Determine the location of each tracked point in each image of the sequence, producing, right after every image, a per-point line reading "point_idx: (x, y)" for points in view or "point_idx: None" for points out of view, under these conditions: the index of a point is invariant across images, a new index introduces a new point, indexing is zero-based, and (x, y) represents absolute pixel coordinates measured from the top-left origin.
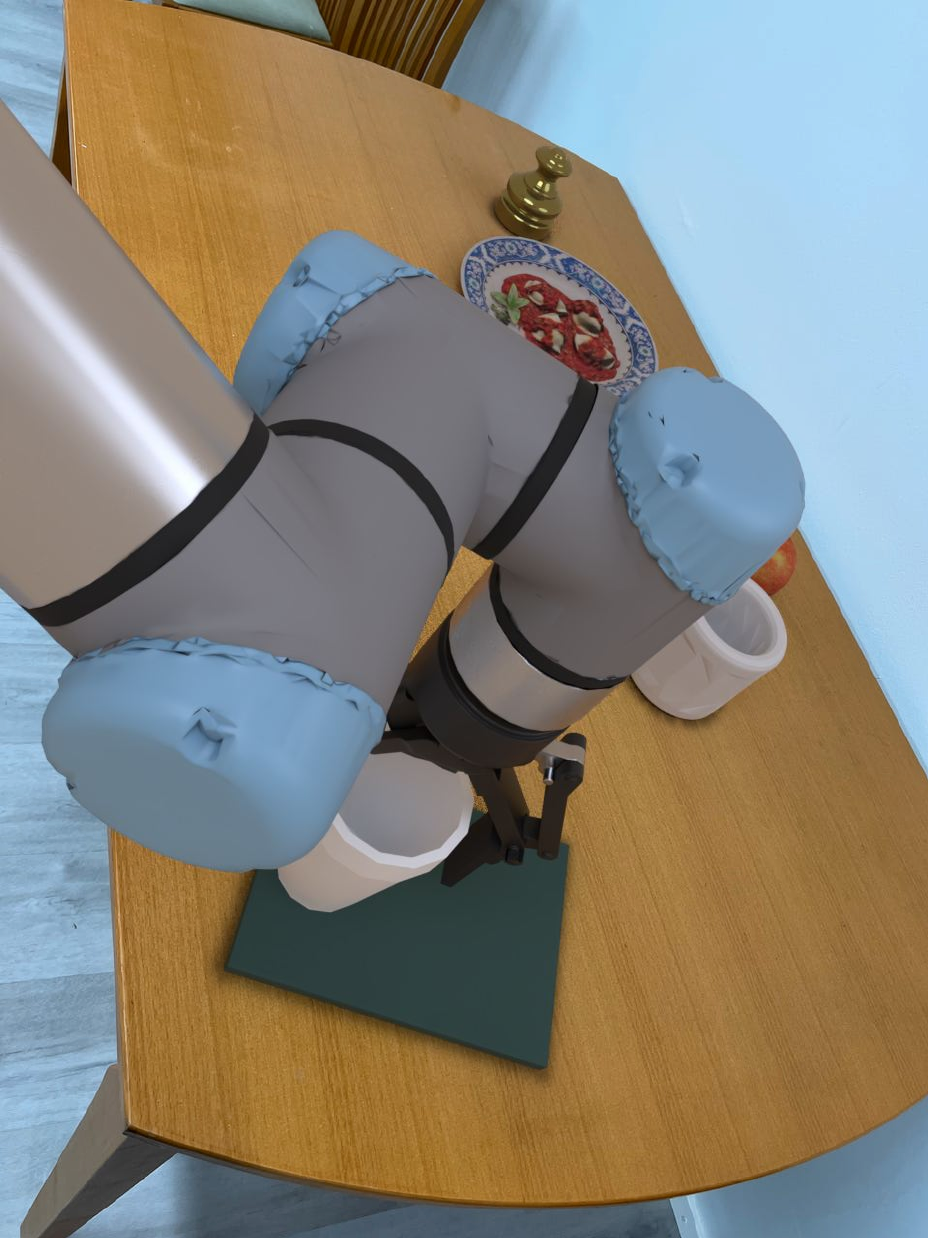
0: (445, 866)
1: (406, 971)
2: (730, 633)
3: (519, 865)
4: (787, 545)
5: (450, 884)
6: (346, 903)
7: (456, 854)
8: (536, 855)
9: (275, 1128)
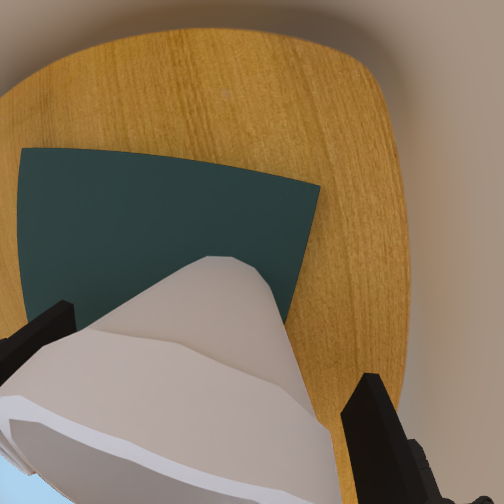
0: (71, 327)
1: (120, 203)
2: None
3: None
4: None
5: (60, 304)
6: (192, 267)
7: None
8: None
9: (247, 51)
